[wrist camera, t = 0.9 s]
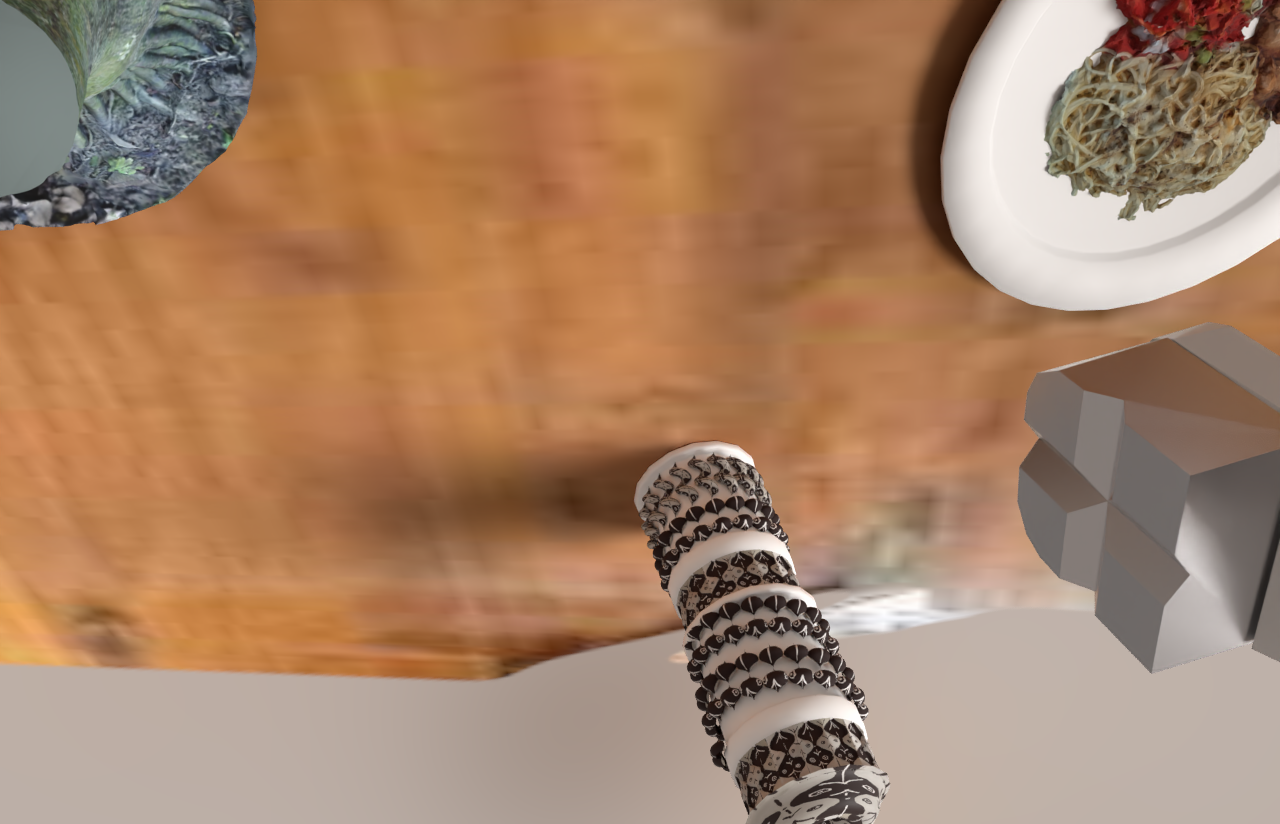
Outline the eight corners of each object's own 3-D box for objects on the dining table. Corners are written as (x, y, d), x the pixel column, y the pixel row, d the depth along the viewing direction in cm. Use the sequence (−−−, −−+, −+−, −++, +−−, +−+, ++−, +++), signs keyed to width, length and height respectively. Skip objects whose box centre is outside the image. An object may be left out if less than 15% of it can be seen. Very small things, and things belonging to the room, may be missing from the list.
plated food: (1060, 363, 81) (1086, 397, 79) (827, 101, 62) (851, 135, 59) (1489, 57, 72) (1532, 86, 69) (1373, -369, 52) (1428, -350, 50)
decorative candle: (732, 533, 85) (867, 868, 68) (610, 530, 81) (720, 884, 64) (782, 440, 79) (942, 781, 62) (653, 433, 75) (786, 792, 58)
